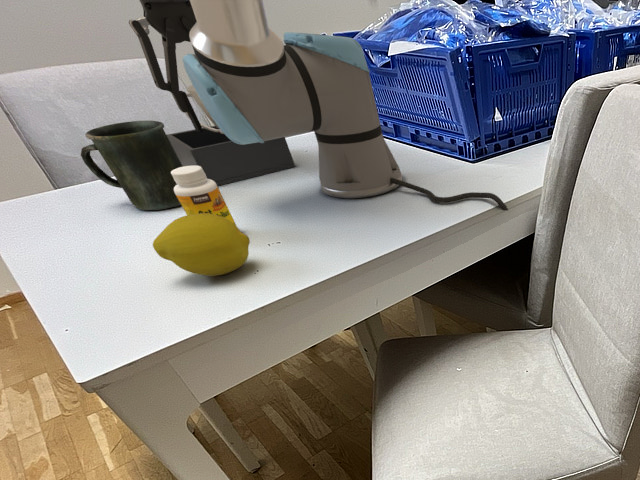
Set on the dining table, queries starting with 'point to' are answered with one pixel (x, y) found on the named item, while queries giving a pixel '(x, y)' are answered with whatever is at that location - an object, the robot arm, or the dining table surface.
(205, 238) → the lemon
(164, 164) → the mug
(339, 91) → the robot arm
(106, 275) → the dining table surface
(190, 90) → the cup
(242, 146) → the bin
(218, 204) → the supplement bottle
